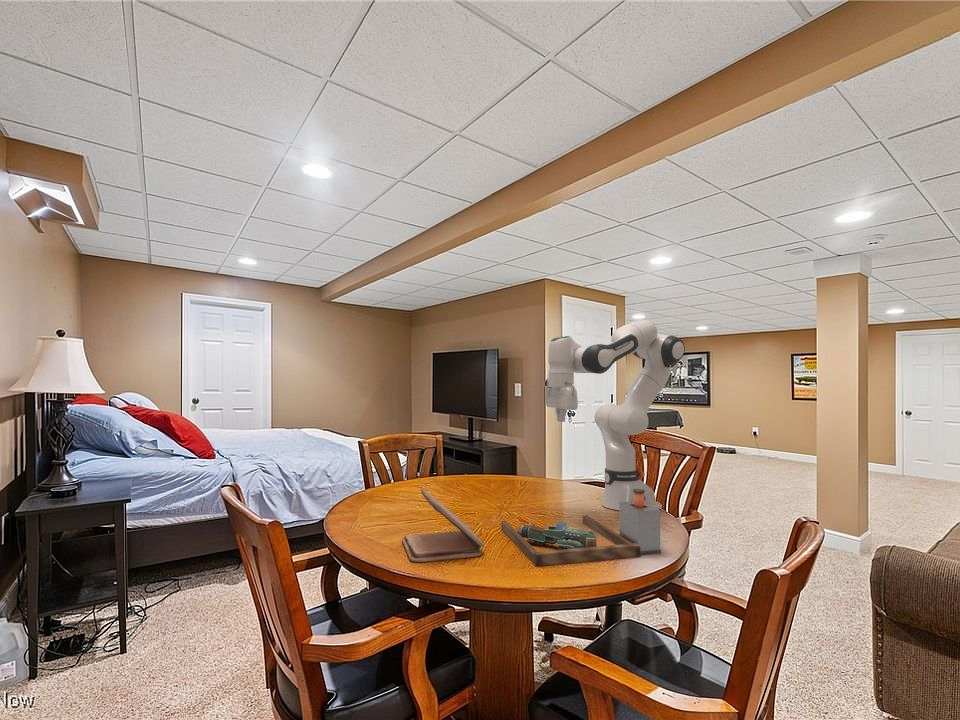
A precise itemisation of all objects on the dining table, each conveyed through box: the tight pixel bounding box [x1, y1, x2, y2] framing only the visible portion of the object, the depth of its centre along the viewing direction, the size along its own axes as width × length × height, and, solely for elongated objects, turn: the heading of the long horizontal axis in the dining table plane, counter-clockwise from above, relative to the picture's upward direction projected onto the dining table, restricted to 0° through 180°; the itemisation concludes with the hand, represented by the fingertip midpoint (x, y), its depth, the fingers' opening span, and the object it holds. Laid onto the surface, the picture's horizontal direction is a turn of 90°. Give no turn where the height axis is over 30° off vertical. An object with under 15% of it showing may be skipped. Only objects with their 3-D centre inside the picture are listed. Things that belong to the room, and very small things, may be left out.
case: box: [401, 488, 485, 563], centre depth 140 cm, size 20×21×16 cm
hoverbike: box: [516, 518, 598, 550], centre depth 140 cm, size 10×25×8 cm, turn 60°
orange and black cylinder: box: [633, 489, 645, 508], centre depth 141 cm, size 3×3×8 cm
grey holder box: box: [618, 502, 662, 556], centre depth 140 cm, size 7×10×12 cm
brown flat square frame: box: [500, 514, 642, 567], centre depth 145 cm, size 30×32×3 cm
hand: (561, 421), depth 169 cm, fingers closed
